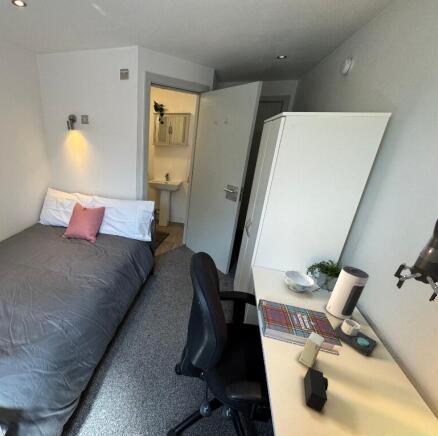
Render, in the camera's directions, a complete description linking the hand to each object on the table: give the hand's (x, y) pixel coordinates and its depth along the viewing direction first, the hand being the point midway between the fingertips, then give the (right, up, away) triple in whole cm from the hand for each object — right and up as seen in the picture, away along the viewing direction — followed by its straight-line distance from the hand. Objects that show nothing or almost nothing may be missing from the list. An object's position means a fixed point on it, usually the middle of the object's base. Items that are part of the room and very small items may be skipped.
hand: (414, 293), depth 91 cm
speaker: (-5, -20, +31) cm, 37 cm away
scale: (-10, -26, +15) cm, 32 cm away
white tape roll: (-11, -24, +17) cm, 31 cm away
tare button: (-11, -25, +10) cm, 29 cm away
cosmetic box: (-40, -29, +4) cm, 49 cm away
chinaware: (-16, -13, +49) cm, 53 cm away
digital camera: (-46, -34, -9) cm, 58 cm away
